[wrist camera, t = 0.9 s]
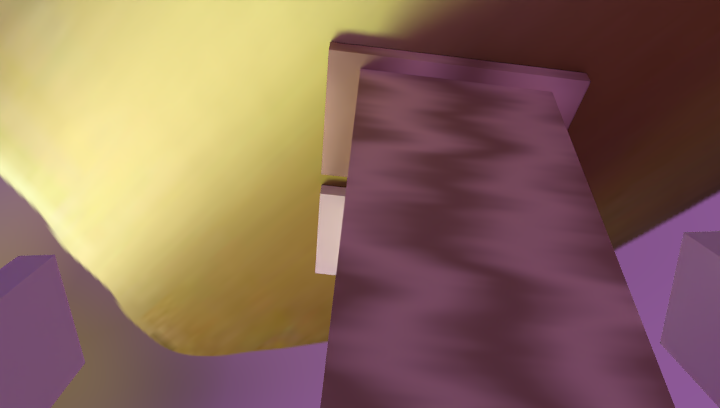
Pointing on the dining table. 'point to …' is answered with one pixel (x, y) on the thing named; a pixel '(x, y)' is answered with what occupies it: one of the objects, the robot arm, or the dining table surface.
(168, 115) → the dining table surface
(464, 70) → the birch stand
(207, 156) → the dining table surface
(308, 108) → the dining table surface
